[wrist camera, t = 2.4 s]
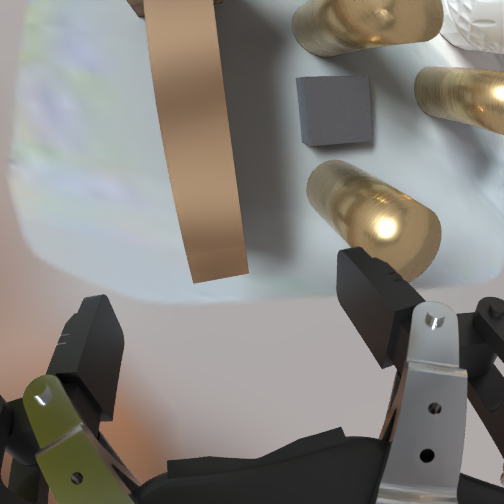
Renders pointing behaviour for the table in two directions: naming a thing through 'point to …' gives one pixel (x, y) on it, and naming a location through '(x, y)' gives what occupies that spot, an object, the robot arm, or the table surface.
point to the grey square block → (334, 109)
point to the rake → (196, 133)
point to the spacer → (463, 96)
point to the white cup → (474, 24)
